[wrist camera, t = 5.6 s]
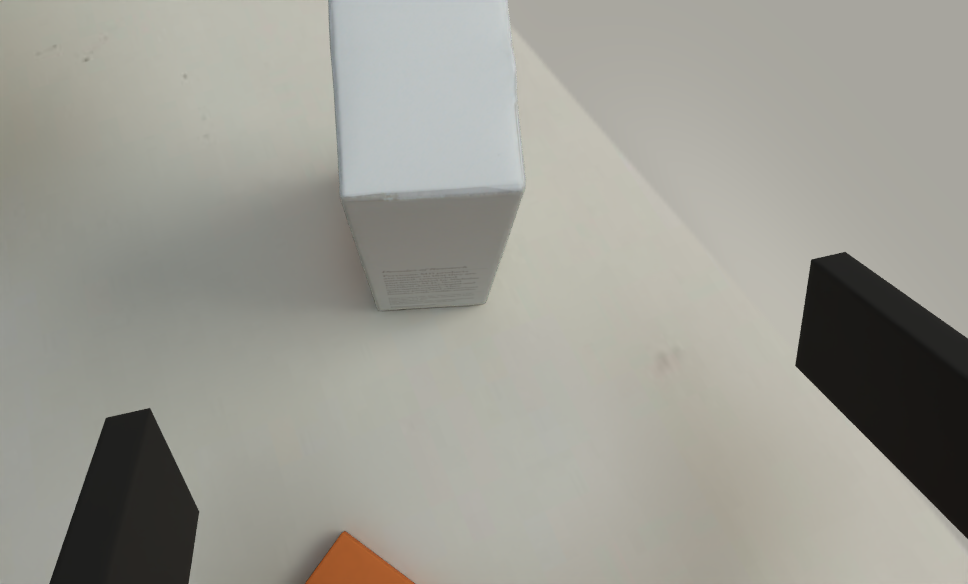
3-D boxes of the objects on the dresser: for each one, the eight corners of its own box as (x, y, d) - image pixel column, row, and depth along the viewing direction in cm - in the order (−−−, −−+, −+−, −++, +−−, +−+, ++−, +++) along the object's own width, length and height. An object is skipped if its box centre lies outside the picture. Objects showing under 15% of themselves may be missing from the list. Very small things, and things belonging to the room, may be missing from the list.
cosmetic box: (365, 165, 28) (323, -49, 16) (474, 160, 28) (508, -53, 17) (374, 317, 27) (334, 200, 15) (488, 309, 27) (535, 189, 15)
